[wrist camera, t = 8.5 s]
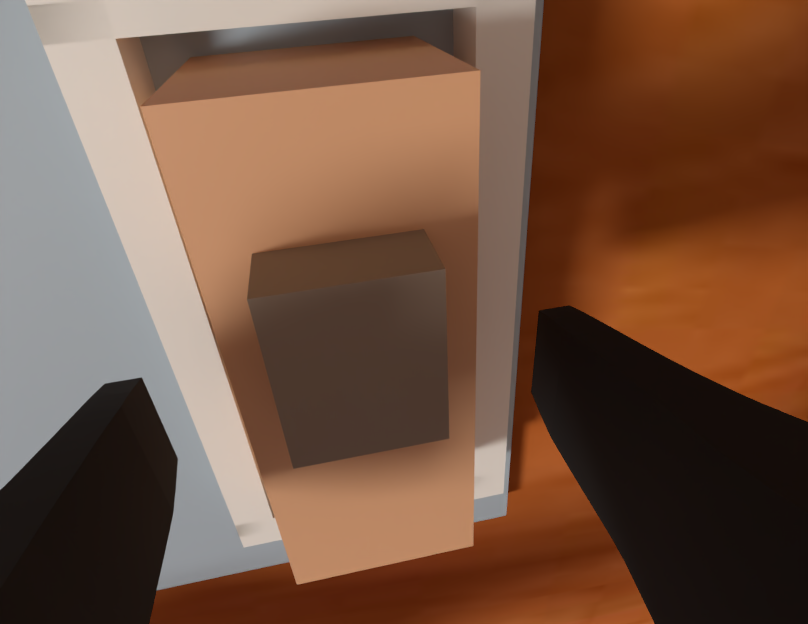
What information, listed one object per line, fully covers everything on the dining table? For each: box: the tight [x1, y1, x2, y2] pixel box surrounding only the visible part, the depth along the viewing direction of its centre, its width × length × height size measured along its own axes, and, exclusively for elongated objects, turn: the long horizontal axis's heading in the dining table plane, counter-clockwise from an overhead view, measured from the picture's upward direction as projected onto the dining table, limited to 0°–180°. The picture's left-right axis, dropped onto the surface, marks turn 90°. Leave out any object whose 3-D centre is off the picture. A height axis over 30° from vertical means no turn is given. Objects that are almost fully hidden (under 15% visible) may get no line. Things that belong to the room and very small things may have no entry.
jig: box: [0, 0, 544, 590], centre depth 12 cm, size 18×19×2 cm
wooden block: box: [140, 36, 481, 585], centre depth 10 cm, size 10×4×5 cm, turn 4°
